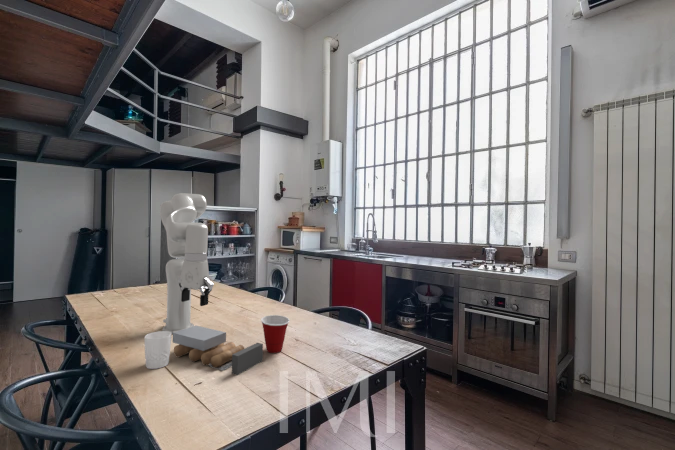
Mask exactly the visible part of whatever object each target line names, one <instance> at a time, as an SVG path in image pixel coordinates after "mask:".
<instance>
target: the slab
mask: <svg viewBox="0 0 675 450" xmlns="http://www.w3.org/2000/svg"><path fill="white" fill-rule="evenodd" d="M226 342H227V332H226V331H223V330H217V329H213V328H209V327H205V326H199V325H194V326H193V327H190V328H187V329H183V330H180V331H177V332H174V333H172V343H174V344H177V345H179V344H180V345H184V346H187V347H191V348H195V349H198V350H202V351H205V350H207V349H210V348H212V347H215V346H217V345H219V344H222V343H226Z"/></svg>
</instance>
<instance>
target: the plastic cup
mask: <svg viewBox="0 0 675 450" xmlns="http://www.w3.org/2000/svg"><path fill="white" fill-rule="evenodd" d="M290 321H291V320H290V318H289V317H288V316H284V315H279V314H273V315H272V314H270V315H265V316H263V317H261V319H260V322H261V324H262V329H263V337H264V342H265V349H266V351H267V353H269V354H275V353H276V354H277V353H280V352H282V350H283V348H284V347H283V346H284V342H285V337H286V333H287V327H288V324H289V323H290Z"/></svg>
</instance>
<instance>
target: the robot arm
mask: <svg viewBox="0 0 675 450" xmlns="http://www.w3.org/2000/svg"><path fill="white" fill-rule="evenodd" d="M207 206H208V203H207V199H206V197H205V196H204V195H203V194H199V193H187V192H186V193H185V192H180V193H176V194H174V195H173V196H172V197H171V199H170V200H165V201H163V202H161V204H160V206H159V214H160V215H159V217H160V220H161V222H162V225H163V226H164V229H165V232H166V233H165V234H166V242H167V243H166V245H167V253H168V255H169V256H170V257H171V258H173V259H169V260H168V261H167V262H166V265H165V275H166V285H167V286H166V288H167V293H166V295H167V296H166V317H165V319H163V320H162V322H163V323H164V324H165V326H163V327H162V331H168V332H171V335H173V333H174V332H177V331H180V330H183V329H187V328H190V327H193V326H195V325H194V324H193V323H192V322H191V314H192V313H191V308H192V306H191V304H192V290H194V291H199V292H200V293H201V294H200V296H199V297H200V298H199V306H200V307H203V306H206V305H208V304H209V295H210V294H211V292H212V291H213V288H214V286H215V285H214V283H213V281H211V280H210V272H209V262H208V242H209V241H208V240H209V239H208V237H209V236H208V235H209V228H208V226H207V224H205V223H202V222H194V221H195V220H196V219H199V218H200V217H201V216H202V215H203V214H204V213H205V212H206V210H207Z"/></svg>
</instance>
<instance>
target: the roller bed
mask: <svg viewBox="0 0 675 450" xmlns="http://www.w3.org/2000/svg"><path fill="white" fill-rule="evenodd" d="M224 343H225V342H224ZM224 343H222V344H219V345H217V346H215V347H212V348H210V349H207V350H205V351H202V350H198V349H195V348H191V347H187V346H184V345H180V344H177V345H175V346H174V348H173V354H174V356H175V357H176V358H179V357H180V358H181V357H182V356H185V355H187V354H188V357H189V360H190V361H191V362H193V363H194V362H198V361H199V360H200V361H201V363H202V364H203V366H209V363H211V358H212V357H213V356H215V355H218V354H220V353H222V352H225V351H227V350H229V349H232V348H234V347H236V346H237V345H236V344H235V343H234V342H232V341H230V342H228V343H225V344H224Z"/></svg>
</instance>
